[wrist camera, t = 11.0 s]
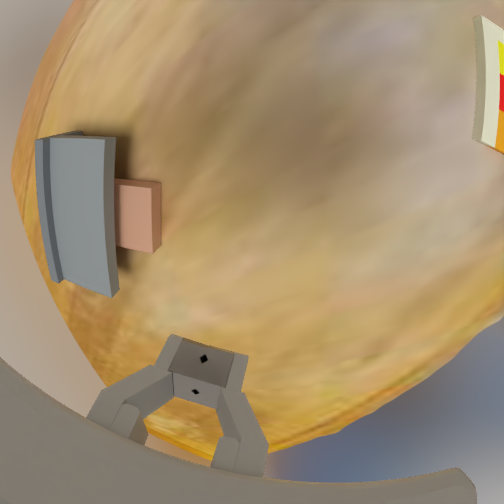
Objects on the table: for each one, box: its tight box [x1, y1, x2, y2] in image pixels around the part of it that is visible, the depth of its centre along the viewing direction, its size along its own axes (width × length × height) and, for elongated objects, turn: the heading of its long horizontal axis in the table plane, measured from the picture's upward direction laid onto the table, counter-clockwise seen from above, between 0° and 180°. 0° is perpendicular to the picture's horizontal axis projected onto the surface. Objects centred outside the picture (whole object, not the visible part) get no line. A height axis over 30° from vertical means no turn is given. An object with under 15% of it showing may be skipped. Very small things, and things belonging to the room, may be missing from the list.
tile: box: [114, 178, 161, 254], centre depth 39 cm, size 10×14×4 cm
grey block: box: [35, 131, 119, 298], centre depth 36 cm, size 24×13×9 cm, turn 169°
